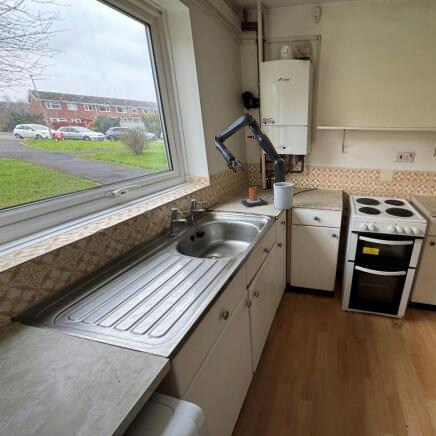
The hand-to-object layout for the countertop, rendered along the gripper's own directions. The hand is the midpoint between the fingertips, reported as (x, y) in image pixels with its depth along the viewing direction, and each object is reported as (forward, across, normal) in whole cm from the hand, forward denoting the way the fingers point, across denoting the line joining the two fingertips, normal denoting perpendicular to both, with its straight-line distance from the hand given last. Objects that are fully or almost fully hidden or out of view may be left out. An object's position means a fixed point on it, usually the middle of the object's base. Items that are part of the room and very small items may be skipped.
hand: (240, 171), depth 182 cm
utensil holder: (+44, +3, -9) cm, 45 cm away
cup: (+24, 0, +7) cm, 25 cm away
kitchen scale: (+26, 0, +9) cm, 28 cm away
